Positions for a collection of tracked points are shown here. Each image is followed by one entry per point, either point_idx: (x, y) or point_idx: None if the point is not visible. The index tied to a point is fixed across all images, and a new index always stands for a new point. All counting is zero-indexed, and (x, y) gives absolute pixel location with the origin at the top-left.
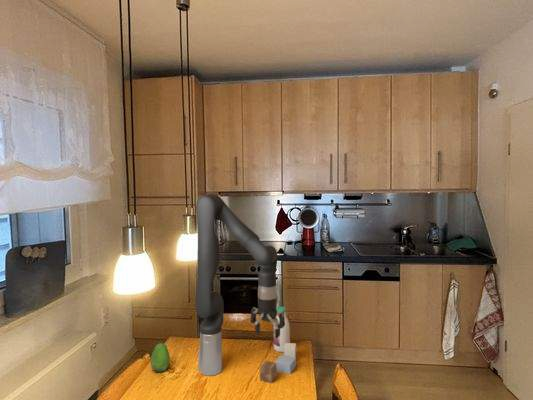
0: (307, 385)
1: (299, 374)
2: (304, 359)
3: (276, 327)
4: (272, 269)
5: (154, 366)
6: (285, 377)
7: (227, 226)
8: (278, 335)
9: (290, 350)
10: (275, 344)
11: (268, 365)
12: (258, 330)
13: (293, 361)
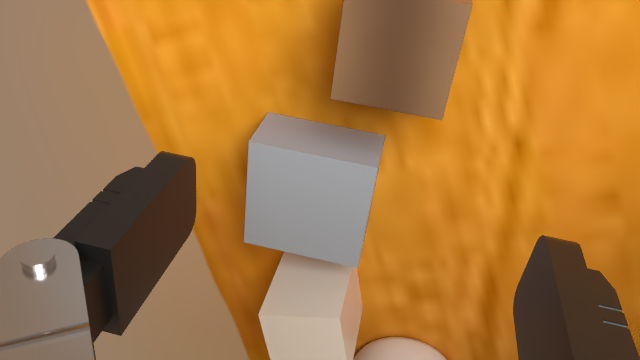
0: (114, 2)
1: (209, 120)
2: (237, 279)
3: (38, 263)
4: None
5: None
6: (285, 64)
7: None
8: (119, 179)
9: (293, 304)
10: None
11: (388, 39)
12: (540, 299)
13: (247, 199)
